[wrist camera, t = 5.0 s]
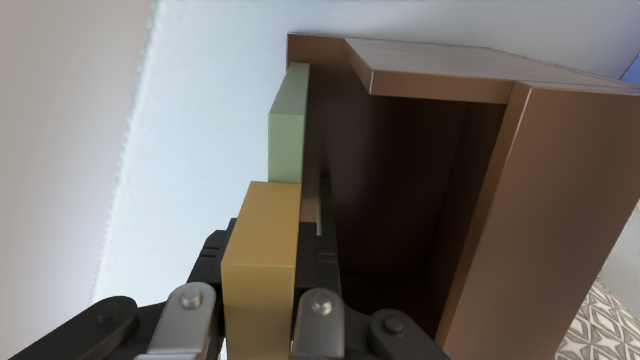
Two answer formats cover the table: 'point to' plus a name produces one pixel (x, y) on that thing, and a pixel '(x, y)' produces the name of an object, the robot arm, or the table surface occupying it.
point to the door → (269, 235)
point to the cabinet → (466, 185)
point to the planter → (601, 330)
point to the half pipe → (633, 72)
